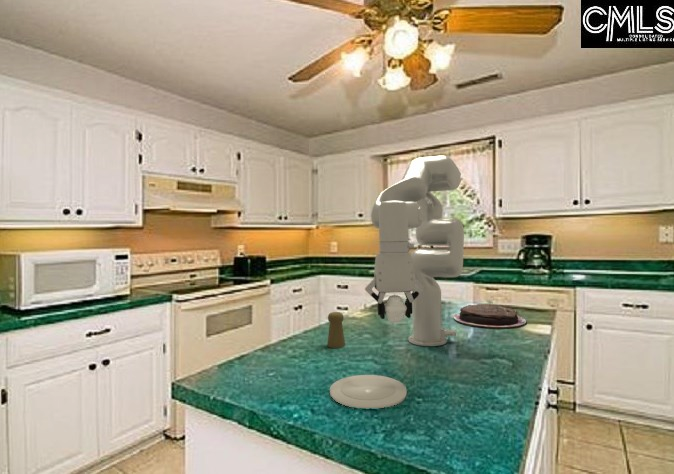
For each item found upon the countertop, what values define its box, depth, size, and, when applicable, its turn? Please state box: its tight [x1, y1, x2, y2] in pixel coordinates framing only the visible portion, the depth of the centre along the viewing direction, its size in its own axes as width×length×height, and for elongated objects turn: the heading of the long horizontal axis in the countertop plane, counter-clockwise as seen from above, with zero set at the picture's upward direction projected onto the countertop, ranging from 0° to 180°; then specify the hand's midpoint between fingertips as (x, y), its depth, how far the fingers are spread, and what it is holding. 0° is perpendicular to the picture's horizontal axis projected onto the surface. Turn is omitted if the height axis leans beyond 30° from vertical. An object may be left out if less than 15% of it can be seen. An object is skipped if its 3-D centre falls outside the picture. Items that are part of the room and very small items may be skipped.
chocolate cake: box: [452, 303, 527, 330], centre depth 166 cm, size 28×28×7 cm
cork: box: [326, 311, 346, 349], centre depth 136 cm, size 6×6×11 cm
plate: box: [329, 374, 407, 409], centre depth 96 cm, size 18×18×1 cm
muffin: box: [384, 293, 407, 323], centre depth 106 cm, size 6×6×7 cm
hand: (395, 316), depth 106 cm, fingers closed on muffin, 6 cm apart
